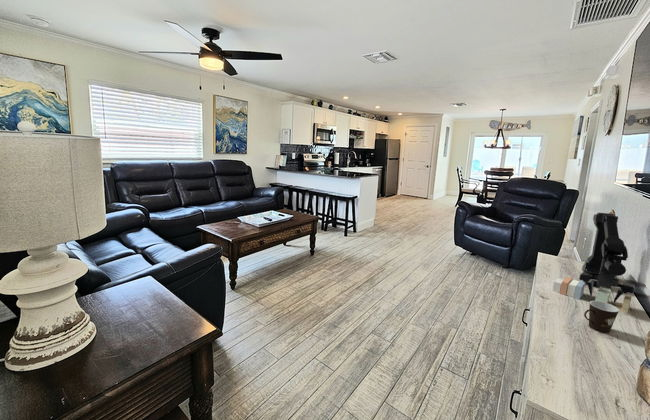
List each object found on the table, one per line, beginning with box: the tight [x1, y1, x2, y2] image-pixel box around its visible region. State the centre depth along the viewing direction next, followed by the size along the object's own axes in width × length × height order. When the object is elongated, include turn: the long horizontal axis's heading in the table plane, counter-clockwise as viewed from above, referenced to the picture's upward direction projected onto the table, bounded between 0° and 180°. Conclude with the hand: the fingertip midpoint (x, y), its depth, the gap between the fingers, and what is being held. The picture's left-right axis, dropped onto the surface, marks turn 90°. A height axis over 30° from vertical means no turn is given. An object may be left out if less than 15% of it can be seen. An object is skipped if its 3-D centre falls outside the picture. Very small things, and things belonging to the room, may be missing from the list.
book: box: [594, 286, 612, 304], centre depth 141 cm, size 9×4×6 cm, turn 130°
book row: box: [552, 276, 586, 300], centre depth 151 cm, size 9×11×6 cm
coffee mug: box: [583, 300, 620, 334], centre depth 120 cm, size 12×9×10 cm
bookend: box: [614, 294, 633, 314], centre depth 136 cm, size 8×4×6 cm, turn 130°
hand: (602, 298), depth 141 cm, fingers open, 8 cm apart
